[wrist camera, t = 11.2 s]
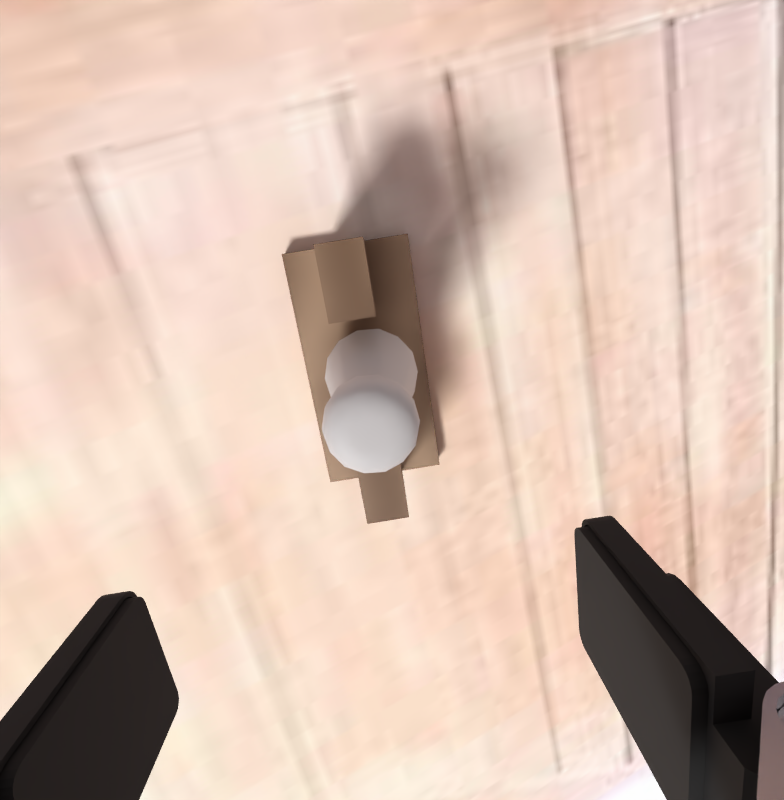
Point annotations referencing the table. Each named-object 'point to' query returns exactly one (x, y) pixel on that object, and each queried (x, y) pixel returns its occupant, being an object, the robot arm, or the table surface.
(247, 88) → the table surface
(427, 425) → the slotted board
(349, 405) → the salt shaker
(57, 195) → the table surface
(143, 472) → the table surface
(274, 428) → the table surface
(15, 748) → the robot arm
